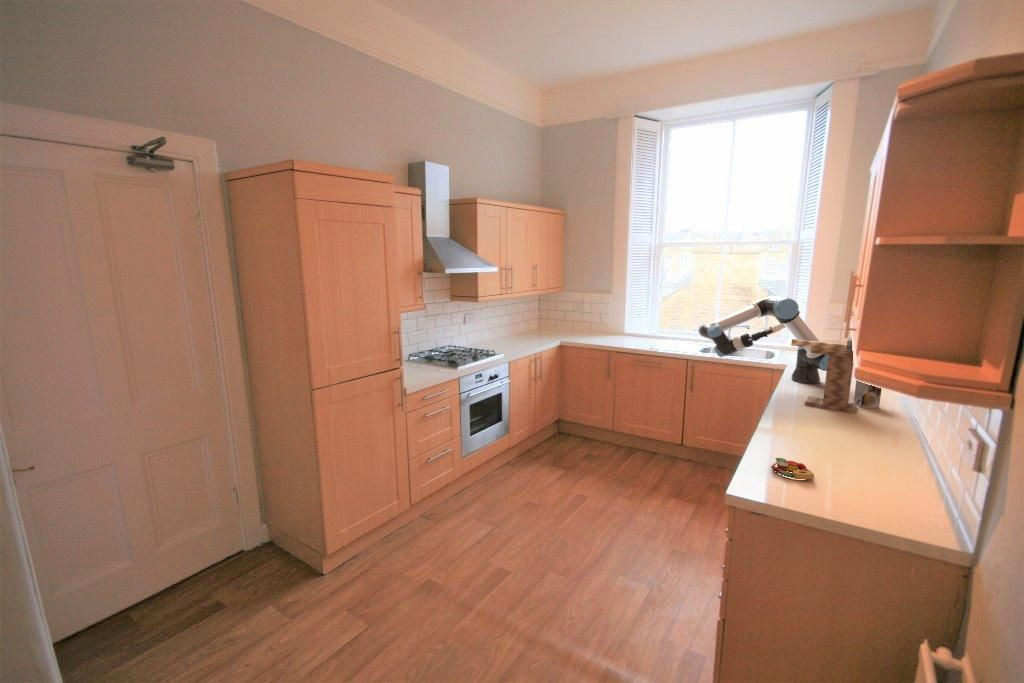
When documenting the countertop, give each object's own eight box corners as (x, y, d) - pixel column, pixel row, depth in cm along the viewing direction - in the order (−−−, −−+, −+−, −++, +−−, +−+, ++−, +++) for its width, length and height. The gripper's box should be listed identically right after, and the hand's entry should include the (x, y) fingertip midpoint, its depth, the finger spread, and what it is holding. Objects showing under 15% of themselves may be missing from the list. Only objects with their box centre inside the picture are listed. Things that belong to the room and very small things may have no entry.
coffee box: (871, 404, 241) (875, 374, 238) (879, 408, 235) (883, 377, 232) (852, 403, 242) (856, 374, 239) (860, 407, 236) (864, 377, 233)
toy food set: (814, 486, 157) (815, 477, 157) (770, 477, 164) (771, 469, 163) (811, 470, 169) (812, 462, 168) (770, 462, 175) (771, 454, 174)
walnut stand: (804, 405, 241) (811, 349, 235) (808, 399, 250) (814, 345, 244) (854, 413, 227) (862, 354, 222) (856, 407, 236) (864, 350, 231)
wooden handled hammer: (790, 346, 242) (791, 335, 241) (793, 343, 249) (794, 332, 248) (861, 353, 223) (862, 341, 222) (862, 350, 230) (864, 338, 229)
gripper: (751, 344, 270) (789, 330, 256) (740, 351, 251) (780, 335, 238) (746, 333, 271) (783, 317, 258) (733, 338, 253) (773, 322, 239)
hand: (782, 326), depth 248 cm, fingers open, 13 cm apart
